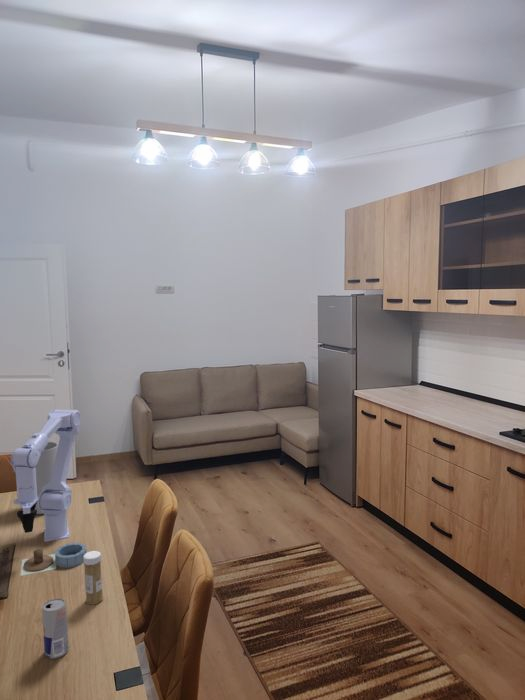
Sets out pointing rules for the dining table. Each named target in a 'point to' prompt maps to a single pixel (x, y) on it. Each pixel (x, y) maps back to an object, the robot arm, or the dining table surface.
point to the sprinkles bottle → (93, 577)
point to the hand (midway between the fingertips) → (29, 526)
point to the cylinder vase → (45, 468)
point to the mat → (25, 572)
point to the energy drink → (55, 628)
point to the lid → (38, 561)
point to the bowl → (70, 555)
